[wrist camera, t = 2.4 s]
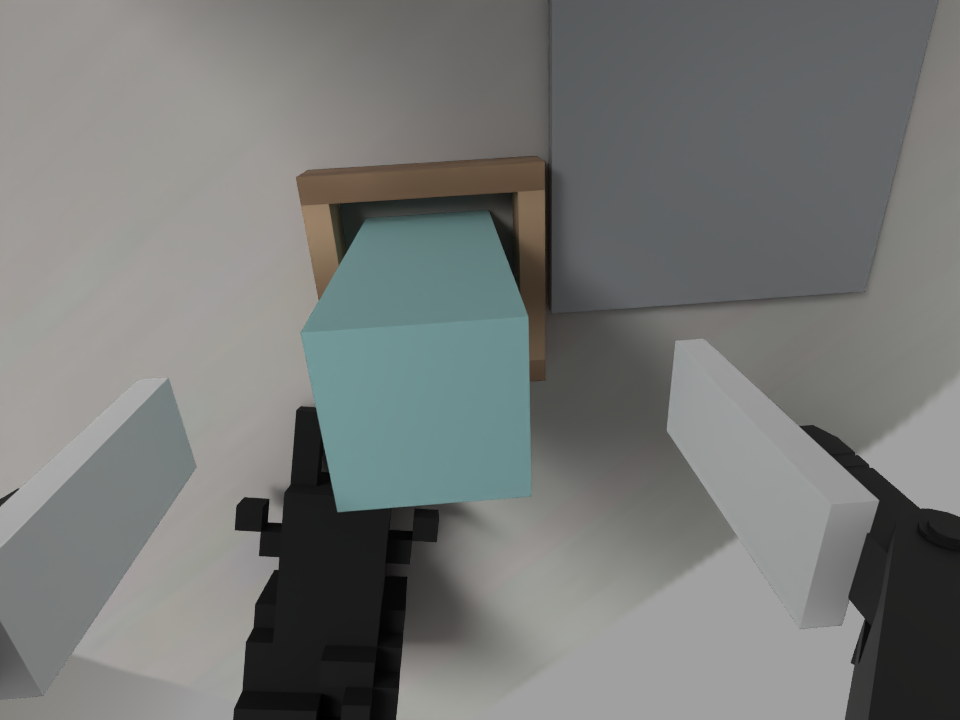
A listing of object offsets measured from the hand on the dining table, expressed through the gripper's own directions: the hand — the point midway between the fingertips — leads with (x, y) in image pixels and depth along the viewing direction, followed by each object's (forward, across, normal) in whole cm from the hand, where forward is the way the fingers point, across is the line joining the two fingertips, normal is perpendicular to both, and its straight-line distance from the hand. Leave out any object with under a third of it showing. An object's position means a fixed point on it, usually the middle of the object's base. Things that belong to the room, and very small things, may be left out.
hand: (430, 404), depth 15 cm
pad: (+10, +12, +6) cm, 17 cm away
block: (+10, 0, +1) cm, 11 cm away
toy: (+11, -6, -13) cm, 18 cm away
